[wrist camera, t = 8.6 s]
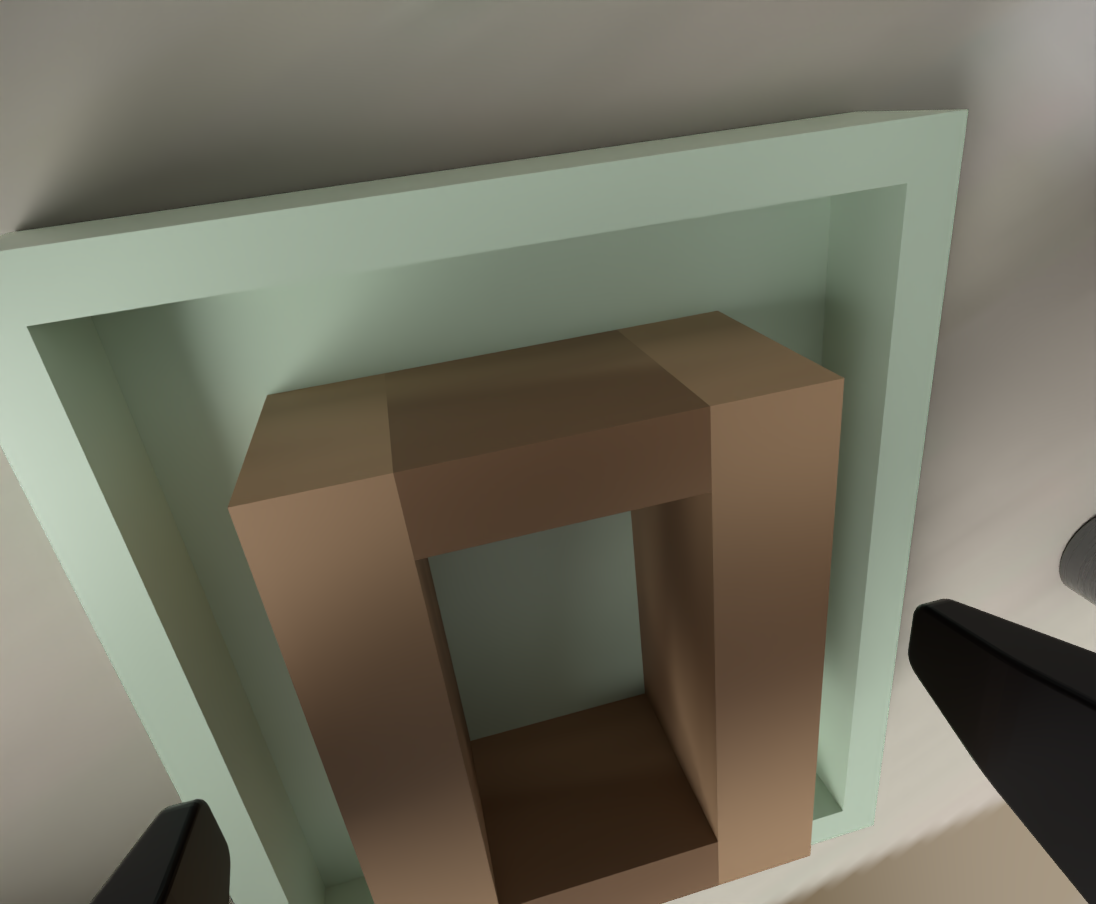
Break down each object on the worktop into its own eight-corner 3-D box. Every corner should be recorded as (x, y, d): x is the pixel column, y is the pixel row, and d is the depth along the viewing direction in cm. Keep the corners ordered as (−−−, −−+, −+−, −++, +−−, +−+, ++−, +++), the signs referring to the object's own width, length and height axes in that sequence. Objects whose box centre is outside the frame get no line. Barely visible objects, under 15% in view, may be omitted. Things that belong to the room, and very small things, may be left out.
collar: (722, 712, 14) (810, 855, 11) (396, 804, 13) (404, 986, 10) (717, 311, 10) (844, 378, 7) (267, 394, 9) (228, 507, 6)
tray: (10, 232, 8) (-93, 263, 6) (855, 110, 10) (968, 109, 8) (299, 891, 14) (289, 1012, 12) (812, 741, 15) (873, 825, 14)
